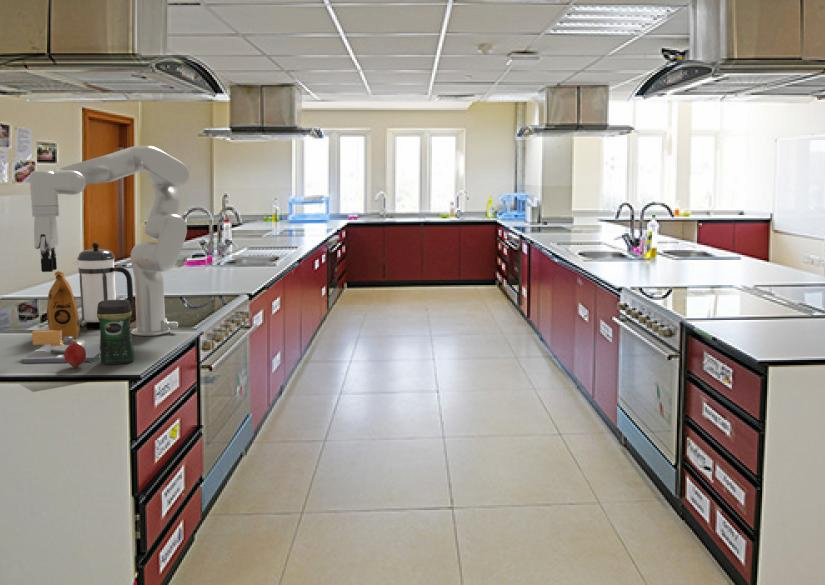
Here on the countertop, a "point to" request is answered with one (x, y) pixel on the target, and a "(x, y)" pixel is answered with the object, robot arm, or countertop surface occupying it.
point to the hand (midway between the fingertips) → (49, 270)
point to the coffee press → (98, 280)
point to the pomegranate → (75, 354)
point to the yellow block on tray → (54, 340)
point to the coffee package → (62, 308)
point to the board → (47, 356)
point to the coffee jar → (115, 332)
